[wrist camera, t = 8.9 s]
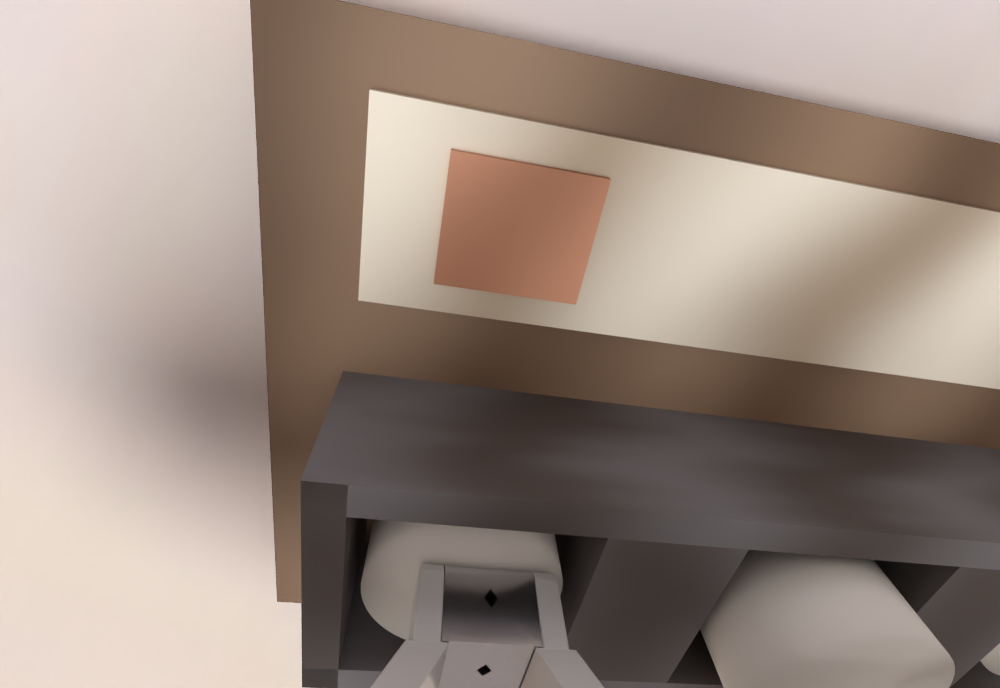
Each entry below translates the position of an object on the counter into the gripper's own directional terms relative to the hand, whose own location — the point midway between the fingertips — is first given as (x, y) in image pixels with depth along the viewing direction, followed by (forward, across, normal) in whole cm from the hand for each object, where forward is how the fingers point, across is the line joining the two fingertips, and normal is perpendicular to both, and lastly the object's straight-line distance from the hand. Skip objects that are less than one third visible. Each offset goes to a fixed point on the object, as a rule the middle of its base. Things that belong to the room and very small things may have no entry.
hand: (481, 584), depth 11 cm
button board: (+5, -8, -2) cm, 9 cm away
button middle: (+1, -8, 0) cm, 8 cm away
